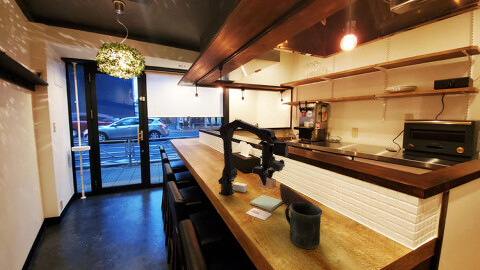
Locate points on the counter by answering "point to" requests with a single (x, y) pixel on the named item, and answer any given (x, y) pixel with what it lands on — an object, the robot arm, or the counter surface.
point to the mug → (304, 224)
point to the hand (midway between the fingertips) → (266, 184)
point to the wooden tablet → (291, 195)
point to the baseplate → (266, 202)
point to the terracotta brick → (268, 183)
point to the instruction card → (258, 213)
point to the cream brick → (240, 187)
